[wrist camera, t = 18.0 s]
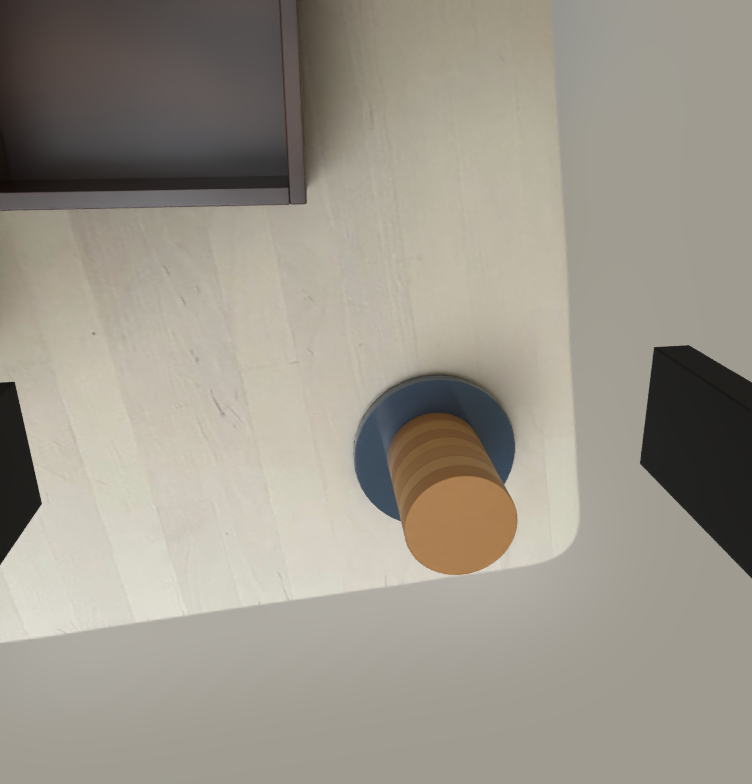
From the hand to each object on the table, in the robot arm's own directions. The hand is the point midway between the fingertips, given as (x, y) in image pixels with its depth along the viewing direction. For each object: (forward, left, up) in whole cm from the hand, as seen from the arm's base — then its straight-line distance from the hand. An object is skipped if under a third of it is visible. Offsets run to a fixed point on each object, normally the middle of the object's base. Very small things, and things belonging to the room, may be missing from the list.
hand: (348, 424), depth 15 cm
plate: (-8, +17, -34) cm, 39 cm away
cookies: (-8, +17, -33) cm, 38 cm away
